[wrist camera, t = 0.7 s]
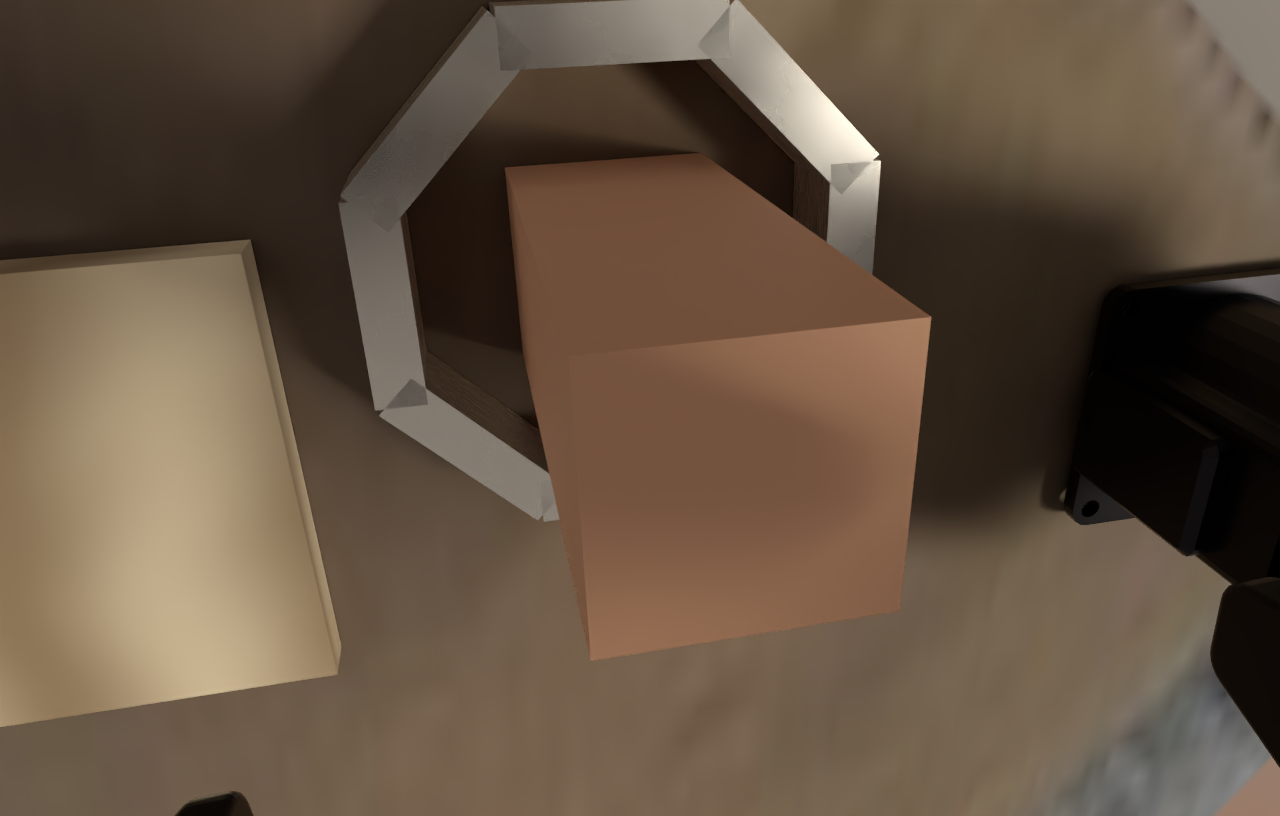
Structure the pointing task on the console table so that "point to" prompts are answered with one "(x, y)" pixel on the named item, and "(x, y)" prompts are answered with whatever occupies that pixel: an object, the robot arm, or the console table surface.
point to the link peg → (712, 403)
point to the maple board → (149, 487)
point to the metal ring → (455, 102)
